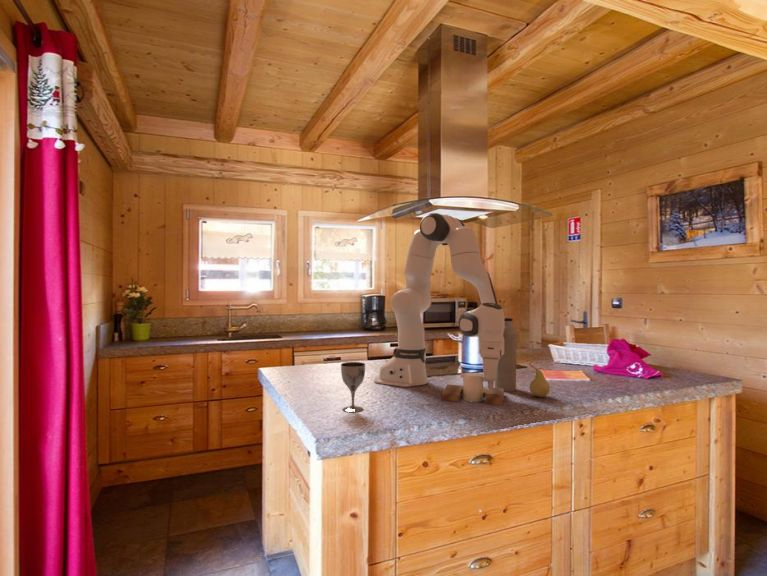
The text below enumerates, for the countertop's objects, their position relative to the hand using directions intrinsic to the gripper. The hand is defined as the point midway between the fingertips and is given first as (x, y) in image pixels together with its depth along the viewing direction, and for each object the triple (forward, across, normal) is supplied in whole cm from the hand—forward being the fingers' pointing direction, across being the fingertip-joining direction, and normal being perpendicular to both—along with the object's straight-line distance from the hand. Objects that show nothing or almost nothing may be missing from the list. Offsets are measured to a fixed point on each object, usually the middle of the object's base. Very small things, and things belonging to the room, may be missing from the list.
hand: (490, 387), depth 156 cm
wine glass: (+5, +24, -43) cm, 50 cm away
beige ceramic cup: (+5, 0, -5) cm, 7 cm away
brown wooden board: (+5, -2, -6) cm, 8 cm away
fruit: (+5, -11, +17) cm, 21 cm away
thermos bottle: (+5, -19, +5) cm, 20 cm away
